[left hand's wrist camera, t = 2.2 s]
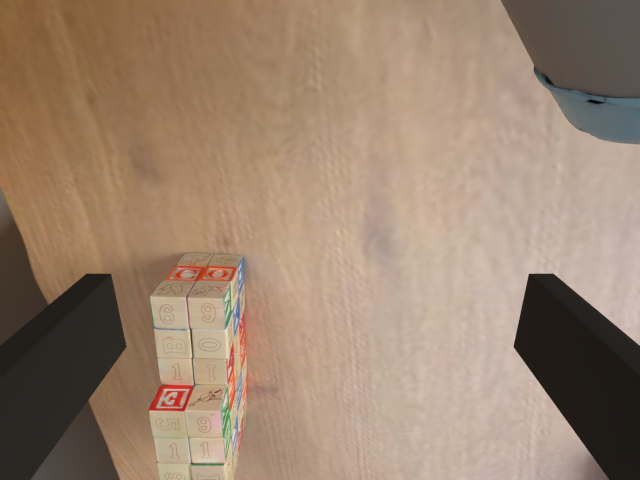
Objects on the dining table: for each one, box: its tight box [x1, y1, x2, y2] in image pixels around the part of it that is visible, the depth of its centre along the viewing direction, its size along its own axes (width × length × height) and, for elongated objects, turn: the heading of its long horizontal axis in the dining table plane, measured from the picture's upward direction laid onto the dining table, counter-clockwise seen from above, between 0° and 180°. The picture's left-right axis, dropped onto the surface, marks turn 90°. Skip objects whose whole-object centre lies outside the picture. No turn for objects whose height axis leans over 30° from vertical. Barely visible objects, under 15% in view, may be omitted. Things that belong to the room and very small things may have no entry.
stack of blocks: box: [149, 253, 247, 480], centre depth 40 cm, size 21×6×12 cm, turn 177°
